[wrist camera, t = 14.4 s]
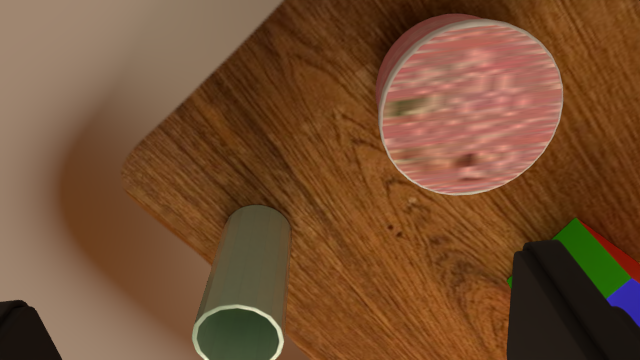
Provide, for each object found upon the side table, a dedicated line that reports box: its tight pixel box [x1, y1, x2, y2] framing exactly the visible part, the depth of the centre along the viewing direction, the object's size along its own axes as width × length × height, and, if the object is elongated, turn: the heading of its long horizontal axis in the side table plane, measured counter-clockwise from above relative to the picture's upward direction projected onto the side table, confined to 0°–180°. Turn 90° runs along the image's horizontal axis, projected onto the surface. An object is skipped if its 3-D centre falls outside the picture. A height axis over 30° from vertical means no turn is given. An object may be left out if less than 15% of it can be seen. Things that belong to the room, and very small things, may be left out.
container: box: [376, 14, 563, 195], centre depth 31 cm, size 10×10×8 cm
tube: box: [192, 205, 292, 360], centre depth 35 cm, size 6×6×12 cm
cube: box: [507, 217, 640, 327], centre depth 39 cm, size 8×8×8 cm
